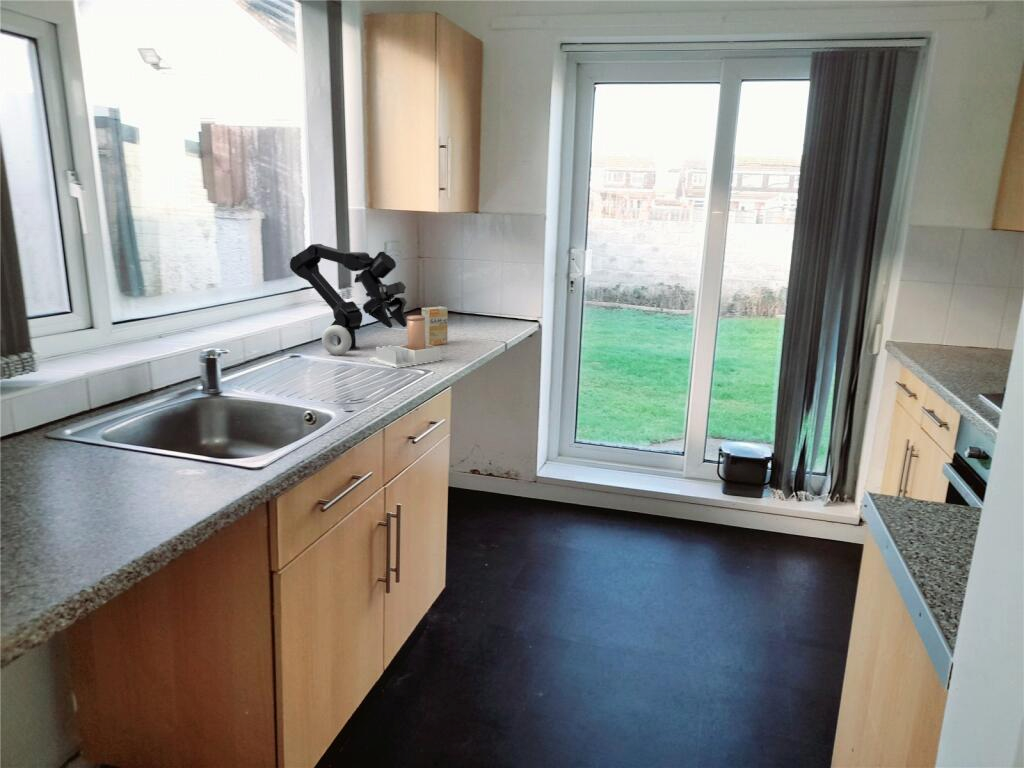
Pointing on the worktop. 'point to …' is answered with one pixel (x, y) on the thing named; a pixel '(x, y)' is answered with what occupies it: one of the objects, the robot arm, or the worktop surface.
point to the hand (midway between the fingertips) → (398, 326)
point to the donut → (343, 336)
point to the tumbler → (416, 332)
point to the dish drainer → (406, 355)
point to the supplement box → (436, 325)
